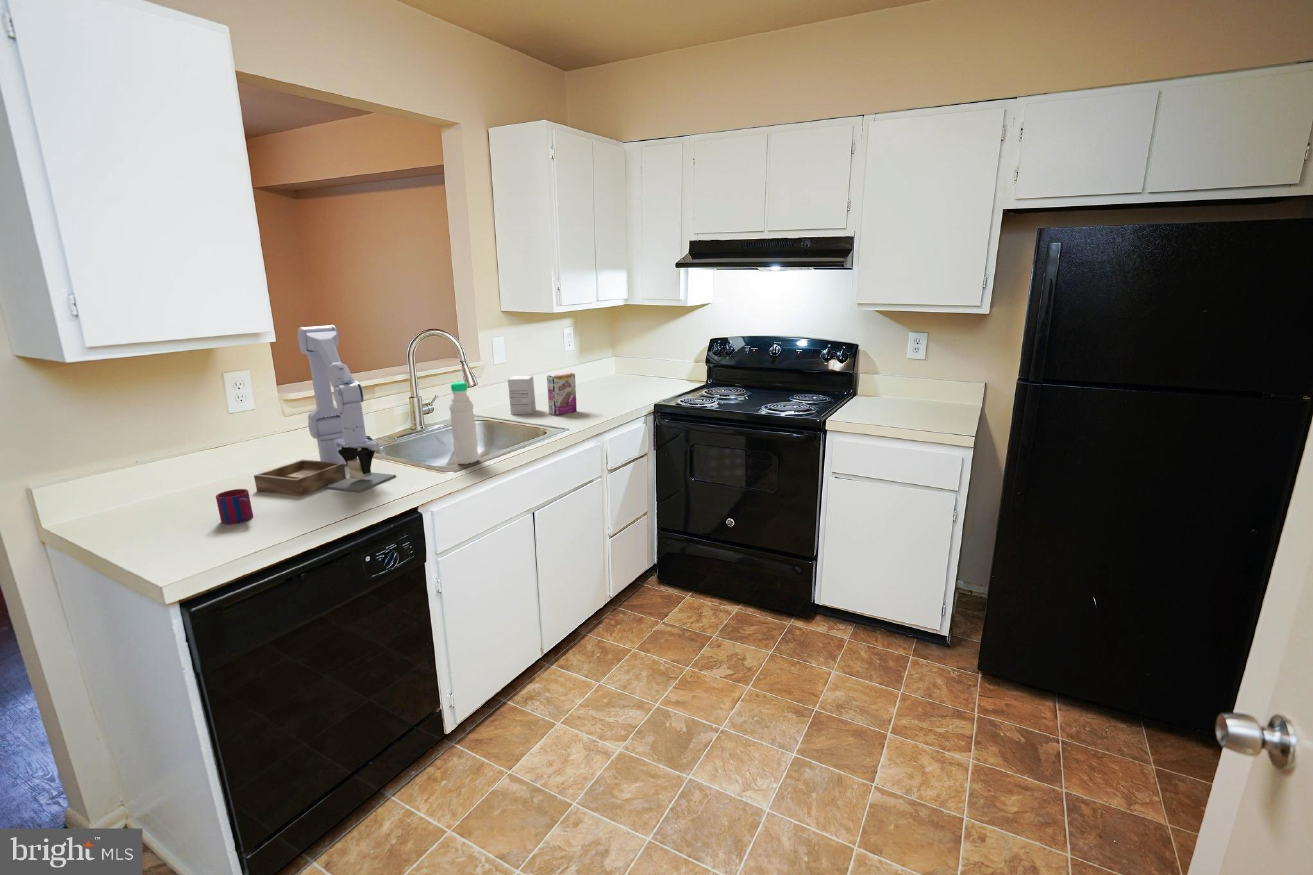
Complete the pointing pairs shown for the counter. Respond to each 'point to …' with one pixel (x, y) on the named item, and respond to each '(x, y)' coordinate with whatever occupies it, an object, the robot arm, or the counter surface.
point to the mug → (234, 506)
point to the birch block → (356, 469)
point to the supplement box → (521, 395)
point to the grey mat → (361, 482)
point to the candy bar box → (561, 393)
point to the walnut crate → (300, 477)
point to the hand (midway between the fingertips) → (360, 472)
